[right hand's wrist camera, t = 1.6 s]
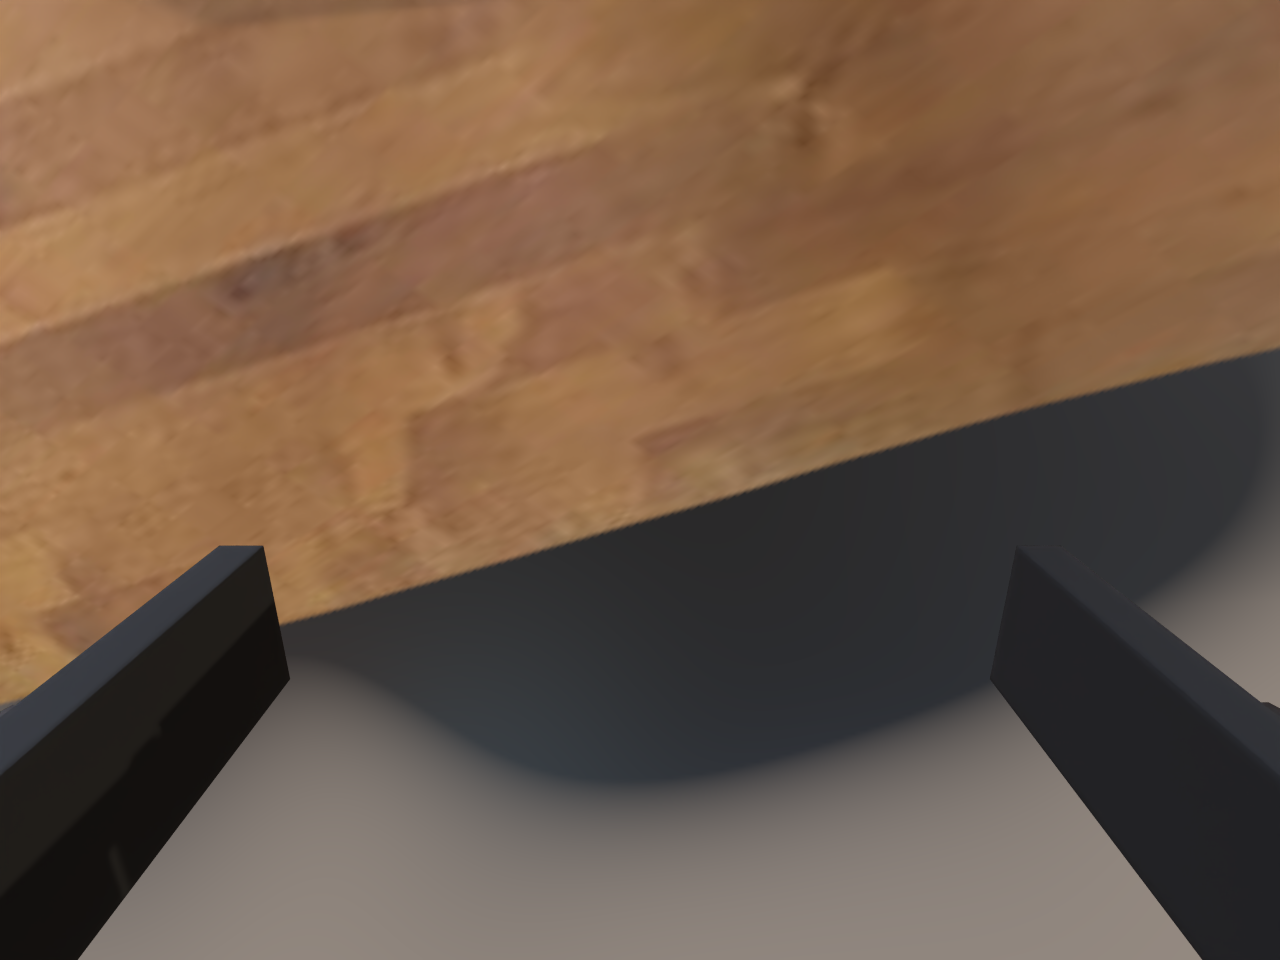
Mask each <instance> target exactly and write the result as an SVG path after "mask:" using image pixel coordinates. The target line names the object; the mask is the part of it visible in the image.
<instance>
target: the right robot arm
mask: <svg viewBox="0 0 1280 960" xmlns="http://www.w3.org/2000/svg"><path fill="white" fill-rule="evenodd" d="M289 680H290V676H289V671H288V666H287V661H286V656H285V651H284V647H283V642H282V637H281V631H280V626H279V622H278V617H277V612H276V607H275V602H274V597H273V592H272V587H271V582H270V577H269V572H268V567H267V562H266V557H265V552H264V547H263V546H218V547H217V548H216V549H215V550H213V551H212V552H211V553H209V554H208V555H207V556H206V557H204V558H203V559H202V560H201V561H199V562H198V563H197V564H195V565H194V566H193V567H192V568H190V569H189V570H188V571H186V572H185V573H184V574H183V575H181V576H180V577H179V578H178V579H176V580H175V581H174V582H172V583H171V584H170V585H169V586H167V587H166V588H165V589H163V590H162V591H161V592H160V593H158V594H157V595H156V596H154V597H153V598H152V599H151V600H149V601H148V602H147V603H146V604H144V605H143V606H142V607H140V608H139V609H138V610H137V611H135V612H134V613H133V614H131V615H130V616H129V617H128V618H126V619H125V620H124V621H123V622H121V623H120V624H119V625H117V626H116V627H115V628H114V629H112V630H111V631H110V632H108V633H107V634H106V635H105V636H103V637H102V638H101V639H100V640H98V641H97V642H96V643H94V644H93V645H92V646H91V647H89V648H88V649H87V650H85V651H84V652H83V653H82V654H80V655H79V656H78V657H77V658H75V659H74V660H73V661H71V662H70V663H69V664H68V665H66V666H65V667H64V668H62V669H61V670H60V671H59V672H57V673H56V674H55V675H54V676H52V677H51V678H50V679H48V680H47V681H46V682H45V683H43V684H42V685H41V686H39V687H38V688H37V689H36V690H34V691H33V692H32V693H31V694H29V695H28V696H27V697H25V698H24V699H23V700H22V701H20V702H19V703H18V704H17V705H12V706H10V707H8V708H6V709H4V710H2V711H0V960H78V959H79V957H80V956H81V955H82V953H83V952H84V951H85V949H86V948H87V947H88V945H89V944H90V943H91V941H92V940H93V939H94V937H95V936H96V935H97V934H98V932H99V931H100V930H101V928H102V927H103V926H104V924H105V923H106V922H107V920H108V919H109V918H110V916H111V915H112V914H113V912H114V911H115V910H116V908H117V907H118V906H119V904H120V903H121V902H122V900H123V899H124V898H125V897H126V895H127V894H128V893H129V891H130V890H131V889H132V887H133V886H134V885H135V883H136V882H137V881H138V879H139V878H140V877H141V875H142V874H143V873H144V871H145V870H146V869H147V867H148V866H149V865H150V863H151V862H152V861H153V859H154V858H155V857H156V855H157V854H158V853H159V852H160V850H161V849H162V848H163V846H164V845H165V844H166V842H167V841H168V840H169V838H170V837H171V836H172V834H173V833H174V832H175V830H176V829H177V828H178V826H179V825H180V824H181V823H182V821H183V820H184V819H185V817H186V816H187V814H188V813H189V812H190V811H191V809H192V808H193V807H194V805H195V804H196V803H197V801H198V800H199V799H200V797H201V796H202V795H203V793H204V792H205V791H206V789H207V788H208V787H209V786H210V784H211V783H212V782H213V780H214V779H215V778H216V776H217V775H218V774H219V772H220V771H221V770H222V768H223V767H224V766H225V764H226V763H227V762H228V760H229V759H230V758H231V756H232V755H233V754H234V752H235V751H236V750H237V748H238V747H239V746H240V744H241V743H242V742H243V741H244V739H245V738H246V737H247V735H248V734H249V733H250V731H251V730H252V729H253V727H254V726H255V725H256V723H257V722H258V721H259V719H260V718H261V717H262V715H263V714H264V713H265V711H266V710H267V709H268V708H269V706H270V705H271V704H272V702H273V701H274V700H275V698H276V697H277V696H278V694H279V693H280V692H281V690H282V689H283V688H284V686H285V685H286V684H287V682H288V681H289ZM990 680H991V681H992V682H993V684H994V685H995V686H996V688H997V689H998V690H999V692H1000V693H1001V694H1002V696H1003V697H1004V698H1005V700H1006V701H1007V702H1008V704H1009V705H1010V706H1011V708H1012V709H1013V710H1014V711H1015V713H1016V714H1017V715H1018V717H1019V718H1020V719H1021V721H1022V722H1023V723H1024V725H1025V726H1026V727H1027V729H1028V730H1029V731H1030V733H1031V734H1032V735H1033V737H1034V738H1035V739H1036V741H1037V742H1038V743H1039V745H1040V746H1041V747H1042V748H1043V750H1044V751H1045V752H1046V754H1047V755H1048V756H1049V758H1050V759H1051V760H1052V762H1053V763H1054V764H1055V766H1056V767H1057V768H1058V770H1059V771H1060V772H1061V774H1062V775H1063V776H1064V778H1065V779H1066V780H1067V782H1068V783H1069V784H1070V786H1071V787H1072V788H1073V789H1074V791H1075V792H1076V793H1077V795H1078V796H1079V797H1080V799H1081V800H1082V801H1083V803H1084V804H1085V805H1086V807H1087V808H1088V809H1089V811H1090V812H1091V813H1092V815H1093V816H1094V817H1095V819H1096V820H1097V821H1098V823H1099V824H1100V825H1101V826H1102V828H1103V829H1104V830H1105V832H1106V833H1107V834H1108V836H1109V837H1110V838H1111V840H1112V841H1113V842H1114V844H1115V845H1116V846H1117V848H1118V849H1119V850H1120V851H1121V853H1122V854H1123V856H1124V857H1125V858H1126V860H1127V861H1128V862H1129V863H1130V865H1131V866H1132V867H1133V869H1134V870H1135V871H1136V873H1137V874H1138V875H1139V877H1140V878H1141V879H1142V881H1143V882H1144V883H1145V885H1146V886H1147V887H1148V889H1149V890H1150V891H1151V893H1152V894H1153V895H1154V896H1155V898H1156V899H1157V900H1158V902H1159V903H1160V904H1161V906H1162V907H1163V908H1164V910H1165V911H1166V912H1167V914H1168V915H1169V916H1170V918H1171V919H1172V920H1173V922H1174V923H1175V924H1176V926H1177V927H1178V928H1179V930H1180V931H1181V932H1182V934H1183V935H1184V936H1185V937H1186V939H1187V940H1188V941H1189V943H1190V944H1191V945H1192V947H1193V948H1194V949H1195V951H1196V952H1197V953H1198V955H1199V956H1200V957H1201V959H1202V960H1280V708H1278V707H1276V706H1274V705H1272V704H1271V703H1267V702H1263V703H1262V702H1260V701H1258V700H1257V699H1256V698H1255V697H1253V696H1252V695H1251V694H1249V693H1248V692H1247V691H1246V690H1244V689H1243V688H1242V687H1241V686H1239V685H1238V684H1237V683H1235V682H1234V681H1233V680H1232V679H1230V678H1229V677H1228V676H1226V675H1225V674H1224V673H1223V672H1221V671H1220V670H1219V669H1218V668H1216V667H1215V666H1214V665H1212V664H1211V663H1210V662H1209V661H1207V660H1206V659H1205V658H1203V657H1202V656H1201V655H1200V654H1198V653H1197V652H1196V651H1195V650H1193V649H1192V648H1191V647H1189V646H1188V645H1187V644H1185V643H1184V642H1183V641H1182V640H1180V639H1179V638H1178V637H1177V636H1175V635H1174V634H1173V633H1171V632H1170V631H1169V630H1168V629H1166V628H1165V627H1164V626H1163V625H1161V624H1160V623H1159V622H1157V621H1156V620H1155V619H1154V618H1152V617H1151V616H1150V615H1148V614H1147V613H1146V612H1145V611H1143V610H1142V609H1141V608H1140V607H1138V606H1137V605H1136V604H1134V603H1133V602H1132V601H1131V600H1129V599H1128V598H1127V597H1125V596H1124V595H1123V594H1122V593H1120V592H1119V591H1118V590H1117V589H1115V588H1114V587H1113V586H1111V585H1110V584H1109V583H1108V582H1106V581H1105V580H1104V579H1102V578H1101V577H1100V576H1099V575H1097V574H1096V573H1095V572H1094V571H1092V570H1091V569H1090V568H1088V567H1087V566H1086V565H1085V564H1083V563H1082V562H1081V561H1079V560H1078V559H1077V558H1076V557H1074V556H1073V555H1072V554H1071V553H1069V552H1068V551H1067V550H1065V549H1064V548H1063V547H1062V546H1017V547H1016V552H1015V557H1014V562H1013V567H1012V572H1011V577H1010V582H1009V587H1008V592H1007V597H1006V602H1005V607H1004V612H1003V617H1002V621H1001V626H1000V632H999V636H998V642H997V647H996V651H995V656H994V661H993V666H992V671H991V676H990Z"/></svg>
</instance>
